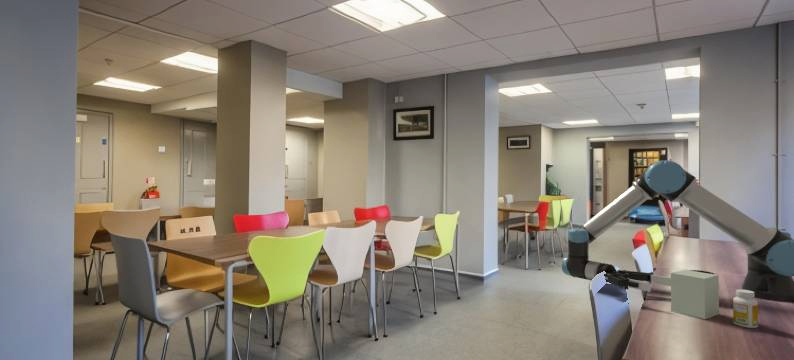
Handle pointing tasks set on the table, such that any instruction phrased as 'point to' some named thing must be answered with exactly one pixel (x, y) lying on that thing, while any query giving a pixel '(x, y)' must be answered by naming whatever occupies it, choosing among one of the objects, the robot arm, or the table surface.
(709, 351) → the table surface
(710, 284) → the cover
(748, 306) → the supplement bottle
